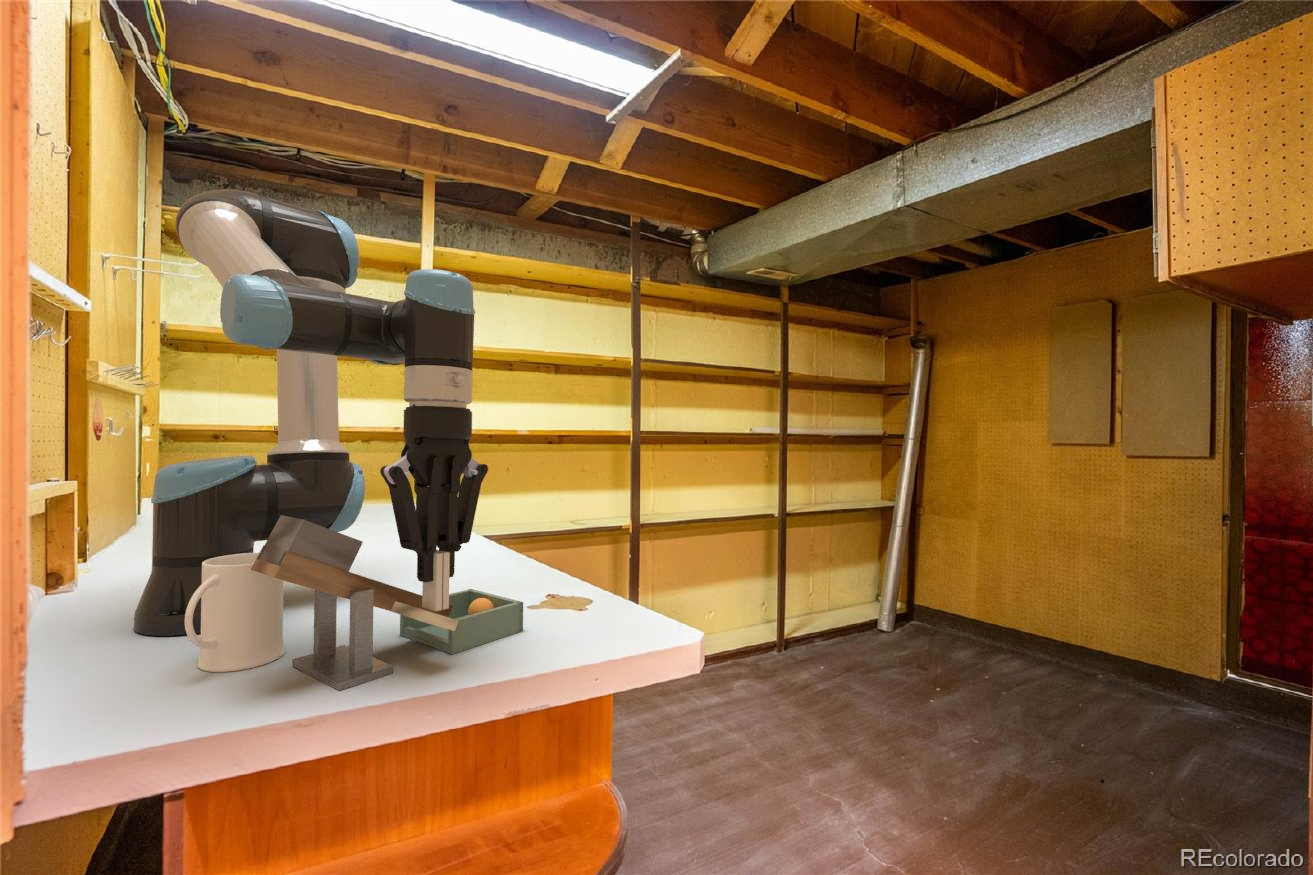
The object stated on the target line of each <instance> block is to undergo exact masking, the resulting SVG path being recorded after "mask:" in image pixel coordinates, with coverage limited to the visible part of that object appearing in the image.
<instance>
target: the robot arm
mask: <svg viewBox="0 0 1313 875" xmlns="http://www.w3.org/2000/svg"><path fill="white" fill-rule="evenodd" d="M174 225H175V226H174V228H175V232H176V236H177V237H178V241H179V242H180V244H181V245H182V247H183V248H184V249H185V251H186V252H187V253H188V255H190V256H191V257H192V258H193V259H194V260H195V261H196V262H198V263H200V264H202V265H203V266H206V267H207V268H208V270H209V271H210V272H211V273H212V275H213V276H214V278H215V279H216V281H217V282H218V283H219V284H220V286H221V287H222V288H223V289H222V293H221V297H220V308H219V310H220V312H219V313H220V314H219V315H220V316H219V317H220V322H221V324H222V332H223V334H224V335H225V337H226V338H227V339H228V340H229V341H231V342H232V343H235V344H239V345H244V346H252V347H256V348H259V349H262V350H276V372H277V373H276V374H277V377H276V379H277V380H276V381H277V388H276V389H277V436H278V437H277V443H276V445H275V446H274V447H273V448H271V449H270V450H269V451H268V452H267V454H266V464H257V460H256V459H255V456H253V455H238V456H237V455H236V456H228V457H227V456H226V457H223V456H222V457H214V458H206V459H196V460H190V461H183V462H178V463H177V462H176V463H172V464H168V465H166V466H163V467H162V468H160V469H159V470H157V472H156V474H155V475H154V481H153V490H152V497H151V501H150V502H151V503H152V506H153V508H152V550H151V555H152V557H151V558H152V559H151V560H152V561H151V571H150V576H149V577H148V580H147V582H146V584H145V587H144V589H143V591H142V594H141V597H140V598H139V600H138V601H139V602H138V603H137V606H136V607H135V611H134V614H133V630H134V632H136V633H137V634H140V635H147V636H158V637H160V636H161V637H162V636H164V637H165V636H181V635H182V636H183V635H187V633H186V630H185V613H186V609H187V606H188V603H189V601H190V599H191V597H192V596H193V594H194V593H195V591H196V590H197V589H198V588H199V586H200V585H201V584H202V562H203V561H205V560H208V559H211V558H215V557H220V556H226V555H233V554H242V553H254V547H255V546H254V545H255V542H261V541H267V540H268V538H269V536H270V534H271V532H272V531H273V529H274V527H275V525H276V523H277V521H278V519H279V518H280V516H281V515H283V516H288V517H293V518H298V519H303V520H306V521H309V522H312V523H314V524H317V525H320V526H322V527H325V528H328V529H330V530H333V531H336V532H338V533H341V532H344V531H346V530H348V529H349V528H351V526H353V524H354V523H355V522H356V521H357V518H358V517H359V515H360V512H361V510H362V508H363V505H364V499H365V493H366V492H365V491H366V490H365V489H366V480H365V476H364V473H363V472H364V471H363V469H362V466H360V465H359V464H357V463H355V462H353V461H350V450H348V449H347V448H346V447H345V446H344V445H342V443H341V442H340V436H339V434H340V431H339V430H340V428H339V427H340V426H339V389H338V388H339V386H338V385H339V384H338V380H339V379H338V376H339V375H338V357H345V358H353V359H361V360H367V361H370V362H371V363H373V364H377V365H384V366H385V365H390V366H399V365H401V364H404V383H403V401H404V402H406V403H408V404H409V406H406V407H405V409H403V433H402V434H403V437H404V442H405V443H404V446H403V448H402V450H401V453H400V458H399V459H397V460H396V461H395V462H394V463H392V464H390V465H383V466H381V467H380V470H379V472H380V475H381V477H382V479H383V480H384V482H385V483H386V484H387V486H388V490H389V494H390V499H391V504H392V510H393V513H394V514H393V515H394V518H395V525H396V528H397V530H396V531H397V533H398V534H397V535H398V539H399V544H400V547H401V548H402V549H405V550H409V551H413V552H415V553H416V556H417V558H416V559H417V561H416V563H417V564H416V577H417V580H418V582H422V591H421V592H422V593H421V594H422V607H423V608H426V609H429V610H433V611H440V610H442V609H443V610H444V609H447V608H449V594H450V578H453V577H454V575H455V567H456V566H455V560H456V559H455V556H456V554H455V553H456V552H459V551H460V550H461V548H462V545H463V544H468V543H469V542H470V541H471V536H472V532H473V526H474V521H475V516H476V511H477V507H478V502H479V496H480V493H481V492H480V491H481V489H482V488H481V486H482V483H483V481H484V480H485V477H486V475H487V474H488V471H489V466H488V465H487V464H486V463H479V462H478V461H477V460H476V459H474V457H473V453H472V449H471V448H470V443H469V442H470V439H471V438H472V436H473V411H471V408H468V407H467V405H470V404H471V403H473V374H474V373H473V363H474V340H475V339H474V336H475V335H474V334H475V314H476V311H475V308H474V289H473V288H474V287H473V283H472V282H471V280H469V278H467V277H466V276H464V275H463V274H460V273H457V272H453V271H450V270H449V271H448V270H444V269H434V268H433V269H432V268H427V269H424V268H422V269H417V270H413V271H411V272H410V273H408V276H407V277H406V280H405V281H406V282H405V288H404V289H405V290H404V291H403V295H404V297H405V298H404V299H401V300H398V301H388V300H384V299H378V298H373V297H366V296H363V295H357V294H351V293H346V292H347V289H348V288H351V287H352V286H354V284H355V283H356V280H357V278H358V274H359V272H358V268H360V250H359V244H358V240H357V238H356V234H355V233H354V231H353V230H352V228H351V227H350V226H349V224H347V222H346V221H344V219H341V218H338V217H335V216H333V215H329V214H327V213H325V212H323V211H321V210H317V209H315V210H314V209H309V208H306V207H302V206H298V205H297V204H296V205H295V204H291V203H287V202H284V201H280V200H277V199H274V198H270V197H267V196H263V195H259V194H257V193H254V192H250V191H246V190H240V189H229V188H223V189H222V188H221V189H211V190H208V191H203V192H201V193H200V192H199V193H198V194H195V195H194V196H191V197H190V198H188V199H187V200H186V201H185V202H184V203H183V204H182V205H181V206H180V208H179V209H178V212H177V214H176V216H175V224H174ZM462 475H463V476H462ZM410 476H412V478H413V479H414V480H413V484H414V485H413V489H412V486H411V482H410V480H409V478H410ZM461 477H462V478H461ZM413 490H414V493H415V495H416V497H415V498H416V499H415V498H414V494H413ZM414 499H415V500H414ZM415 504H416V505H415ZM193 628H194V631H195V633H196V634H201V597H200V599H199V601H198V602H197V604H196V607H195V610H194V613H193Z"/></svg>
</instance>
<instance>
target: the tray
mask: <svg viewBox="0 0 1313 875" xmlns="http://www.w3.org/2000/svg"><path fill="white" fill-rule="evenodd" d="M478 598H486V599H488V600H490V601H491V602H492V604H493V605H494V608H493V609H489V610H486V611H482V612H479V613H475V614H471V615H468V608H469V606H470V604H471V603H472V602H473V601H474V600H476V599H478ZM449 604H450V605H453V608H452V610H451V613H450V615H449V618H452V619H455V620H458V624H457V626H456V629H455V631H453V630H449V629H446V628H442V627H439V626H435V625H432V624H428V623H425V622H422V621H419V620H416V619H413V618H410V617H407V616H404V615H401V614H399V636H402V637H404V638H407V639H409V640H412V641H415V642H417V641H418V642H417V643H420V644H422V643H423V645H425V646H428V647H431V646H432V647H431V648H433V647H434V648H433V649H436V648H437V649H436V650H440V651H441V650H443V651H442V652H444V651H446V652H445V653H447V654H449V653H450V654H449V655H454V654H458V653H461V652H464V651H467V650H470V649H473V648H475V647H478V646H481V645H485V644H487V643H490V642H494V641H497V640H499V639H503V638H506V637H508V636H512V635H514V634H517V633H520V632H523V631H524V602H523V601H520V600H516V599H512V598H509V597H505V596H500V595H496V594H492V593H488V592H485V591H481V590H478V589H473V588H469V589H465V590H459V591H456V592H452V593H449ZM463 650H464V651H463Z"/></svg>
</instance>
